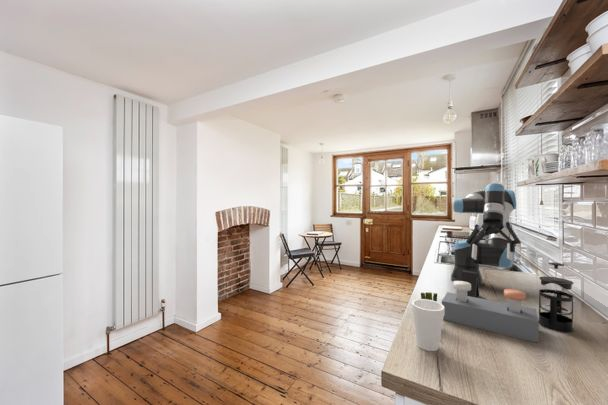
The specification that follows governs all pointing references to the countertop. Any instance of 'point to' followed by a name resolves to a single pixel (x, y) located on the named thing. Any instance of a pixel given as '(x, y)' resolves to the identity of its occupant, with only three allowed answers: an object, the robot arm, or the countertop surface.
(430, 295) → the fennel bulb
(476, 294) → the phone stand
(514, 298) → the orange ball knob
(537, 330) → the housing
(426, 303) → the foam cup
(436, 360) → the countertop surface
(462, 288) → the white rounded knob
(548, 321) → the french press
